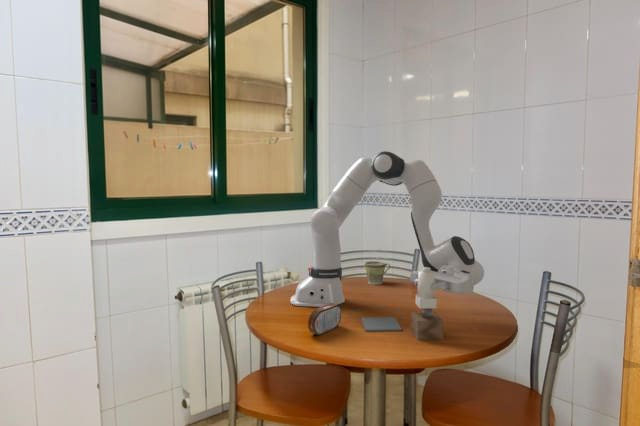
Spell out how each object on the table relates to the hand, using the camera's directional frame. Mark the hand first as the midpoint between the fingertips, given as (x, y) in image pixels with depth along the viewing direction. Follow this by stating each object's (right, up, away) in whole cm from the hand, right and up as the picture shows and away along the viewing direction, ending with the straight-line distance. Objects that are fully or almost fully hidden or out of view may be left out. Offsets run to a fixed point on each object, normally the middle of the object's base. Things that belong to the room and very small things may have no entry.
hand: (424, 284), depth 128 cm
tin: (-31, -17, +6) cm, 36 cm away
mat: (-12, -16, +11) cm, 23 cm away
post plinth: (+1, -16, +2) cm, 17 cm away
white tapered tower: (+1, -7, +1) cm, 7 cm away
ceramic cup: (-4, -12, +71) cm, 73 cm away
